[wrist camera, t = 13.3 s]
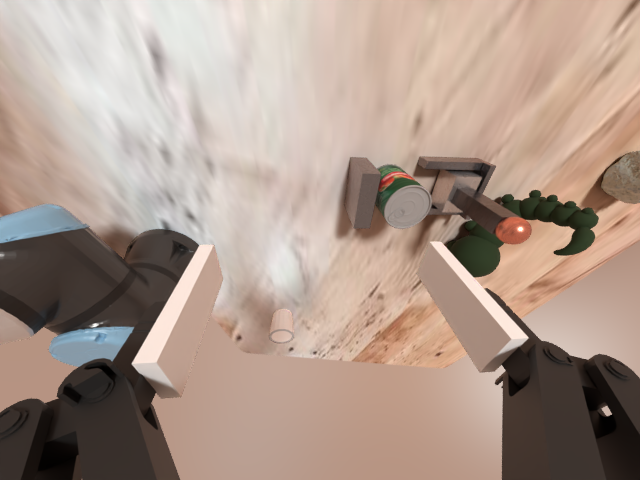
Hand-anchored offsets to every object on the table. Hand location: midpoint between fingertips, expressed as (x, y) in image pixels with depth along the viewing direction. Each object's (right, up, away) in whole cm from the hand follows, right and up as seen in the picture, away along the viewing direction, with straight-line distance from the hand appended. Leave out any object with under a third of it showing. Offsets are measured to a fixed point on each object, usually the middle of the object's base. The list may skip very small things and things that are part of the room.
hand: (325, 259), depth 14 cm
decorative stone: (+66, +16, +36) cm, 77 cm away
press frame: (+18, +13, +32) cm, 39 cm away
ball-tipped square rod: (+26, +13, +33) cm, 44 cm away
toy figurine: (+37, +5, +40) cm, 55 cm away
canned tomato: (+13, +13, +32) cm, 37 cm away
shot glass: (-11, -21, +53) cm, 58 cm away
